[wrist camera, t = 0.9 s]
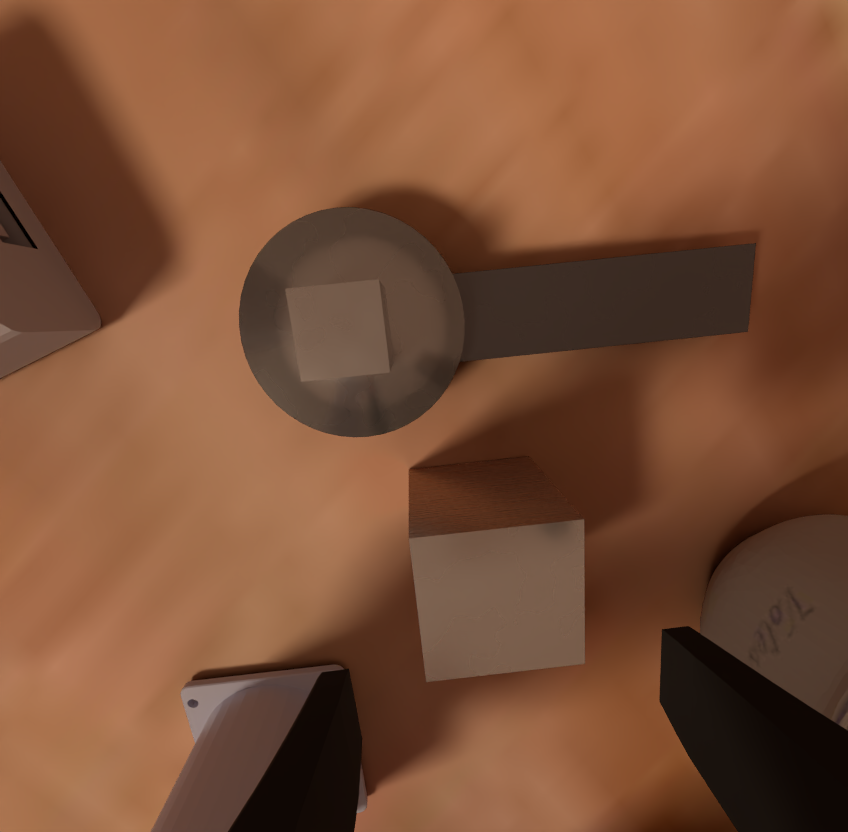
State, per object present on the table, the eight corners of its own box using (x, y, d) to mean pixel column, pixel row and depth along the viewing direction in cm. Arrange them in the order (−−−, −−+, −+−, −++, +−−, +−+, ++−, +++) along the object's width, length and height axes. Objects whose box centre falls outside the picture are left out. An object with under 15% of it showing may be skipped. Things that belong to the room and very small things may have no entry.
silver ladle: (712, 386, 17) (836, 412, 12) (281, 432, 17) (228, 478, 12) (727, 185, 16) (879, 120, 11) (242, 233, 15) (162, 190, 10)
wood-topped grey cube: (532, 562, 19) (584, 664, 13) (420, 575, 19) (426, 682, 13) (528, 456, 18) (584, 519, 12) (408, 469, 18) (408, 538, 12)
